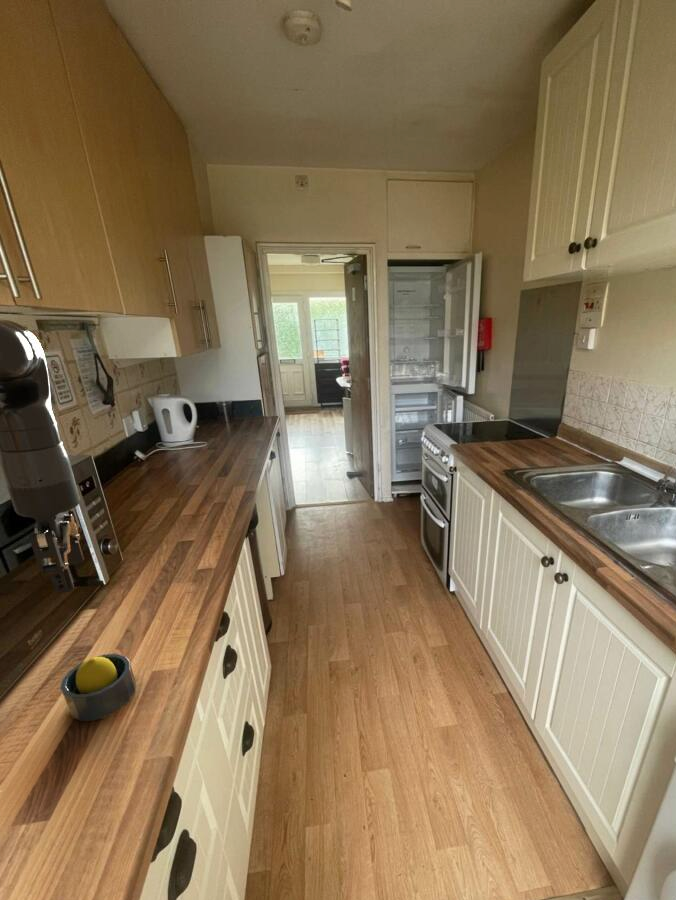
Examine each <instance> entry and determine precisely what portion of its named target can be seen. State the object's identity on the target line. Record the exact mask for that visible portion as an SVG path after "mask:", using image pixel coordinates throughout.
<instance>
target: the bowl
mask: <svg viewBox="0 0 676 900" xmlns="http://www.w3.org/2000/svg"><path fill="white" fill-rule="evenodd" d="M96 657H104V658H107V659H109V660H110V661H111V662H112V663H113V664H114V666H115V668H116V670H117V674H118V679H117V680H116V681H115V682H114V683H112V684H111V685H110V686H108V687H106V688H104V689H102V690H100V691H96V692H92V693H89V694H80V692H79V690H78V688H77V686H76V673H77V671H78V669H79V667H80V666H81V665H82V664H83V663H84V662H85V661H86V660H84V661H82V662H80V663H79V664H77V665H76V666H75V667H73V668H72V669H70V670H69V672H67V673H66V675H65V676H64V677H63V678H62V680H61V684H60V688H59V689H60V691H61V693H62V697H63V699H64V701H65V705H66V708H67V710H68V713H69V714H70V716H71V718H73V719H75V720H78V721H80V722H87V721H88V722H89V721H91V722H92V721H96V720H97V721H98V720H100V719H105V718H106V717H109V716H112V715H113V714H115V713H117V712H119V711H120V710H122V708H123V707H125V706H126V705H127V704H128V703H129V702H130V701H131V700H132V698H133V697H134V695H135V693H136V691H137V682H136V679H135V675H134V672H133V668H132V665H131V662H130V660H129V659H128V657H127V656H126V655H122V654H119V653H106V654H101V655H97V656H96Z"/></svg>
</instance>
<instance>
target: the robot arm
mask: <svg viewBox="0 0 676 900" xmlns="http://www.w3.org/2000/svg"><path fill="white" fill-rule="evenodd" d="M51 397H52V396H51V385H50V377H49V370H48V365H47V360H46V356H45V353H44V349H43V348H42V346H41V343H40V342H39V340H38V339H37V337H36V336H35V335H34V334H33V333H32V332H31V330H30V329H28V328H27V327H25V326H24V325H22V324H20V323H18V322H16V321H13V320H9V319H3V318H0V472H1V474H2V477H3V480H4V484H5V487H6V489H7V492H8V494H9V498H10V500H11V503H12V506H13V510H14V512H15V513H16V514H17V515H18V516H21V517H24V518H31V519H34V520H35V525H34V527H33V528H34V533H30V534H29V537H28V540H29V541H30V545H31V548H32V551H33V554H34V558H35V561H36V565H37V567H38V571H39V573H40V575H41V576H45V575H49V578H50V581H51V584H52V587H53V590H54V593H56V594H63V593H64V594H65V593H69V592H72V591H73V590H74V588H75V583H74V580H73V577H72V575H71V572H70V568H69V566H73V565H81V564H83V563H84V561H85V557H84V554H83V550H82V547H81V543H80V540H81V535H80V533H81V530H82V527H81V525H80V522H79V518H78V515H77V512H76V509H75V508H76V507H78V506H79V504H80V503H81V497H80V494H79V490H78V486H77V483H76V478H75V475H74V472H73V468H72V464H71V460H70V458H69V455H68V453H67V450H66V448H65V446H64V444H63V440H62V436H61V433H60V429H59V426H58V423H57V419H56V416H55V413H54V411H53V407H52V400H51V399H52V398H51ZM51 558H52V559H54V562H52V559H51Z"/></svg>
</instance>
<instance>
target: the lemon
mask: <svg viewBox="0 0 676 900" xmlns="http://www.w3.org/2000/svg"><path fill="white" fill-rule="evenodd" d="M84 661H85V662H84ZM84 661H83V662H84V663H83V664H82V665H81V666H80V667H79V669H78V671H77V673H76V686H77V688H78V690H79V692H80V694H89V693H92V692H96V691H100V690H102V689H104V688H106V687H108V686H110V685H111V684H112V683H114V682H115V681H116V680H117V679H118V674H117V670H116V668H115V666H114V664H113V663H112V662H111V661H110V660H109V659H107V658H104V657H97V656H93V657H91V658H88V659H86V660H84Z"/></svg>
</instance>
